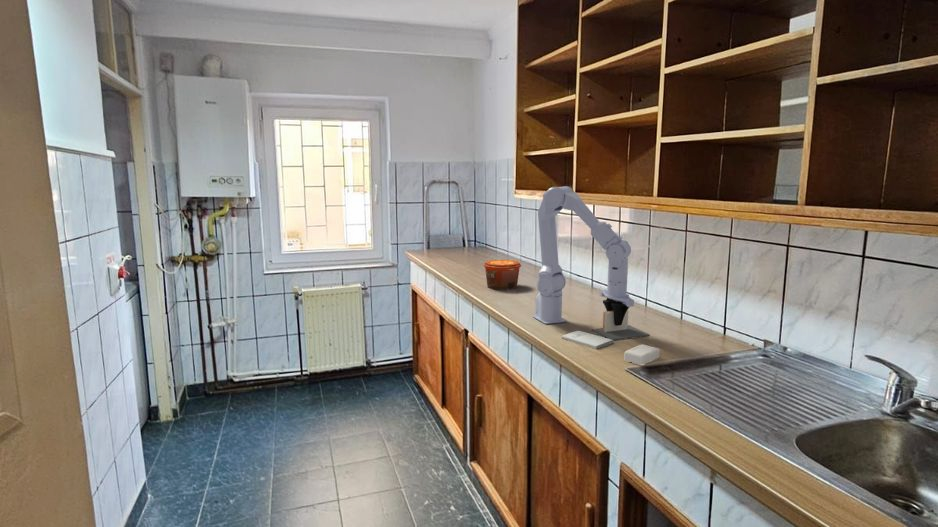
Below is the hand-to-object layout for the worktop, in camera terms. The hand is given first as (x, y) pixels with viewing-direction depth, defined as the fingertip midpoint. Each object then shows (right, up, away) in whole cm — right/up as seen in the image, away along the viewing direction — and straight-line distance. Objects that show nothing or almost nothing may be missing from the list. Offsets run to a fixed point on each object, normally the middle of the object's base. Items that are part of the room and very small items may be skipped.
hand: (615, 323), depth 160 cm
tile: (0, -2, 0) cm, 2 cm away
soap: (0, -7, -24) cm, 25 cm away
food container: (-31, +8, +63) cm, 71 cm away
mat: (+1, -3, -2) cm, 3 cm away
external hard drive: (-11, -5, -8) cm, 14 cm away
